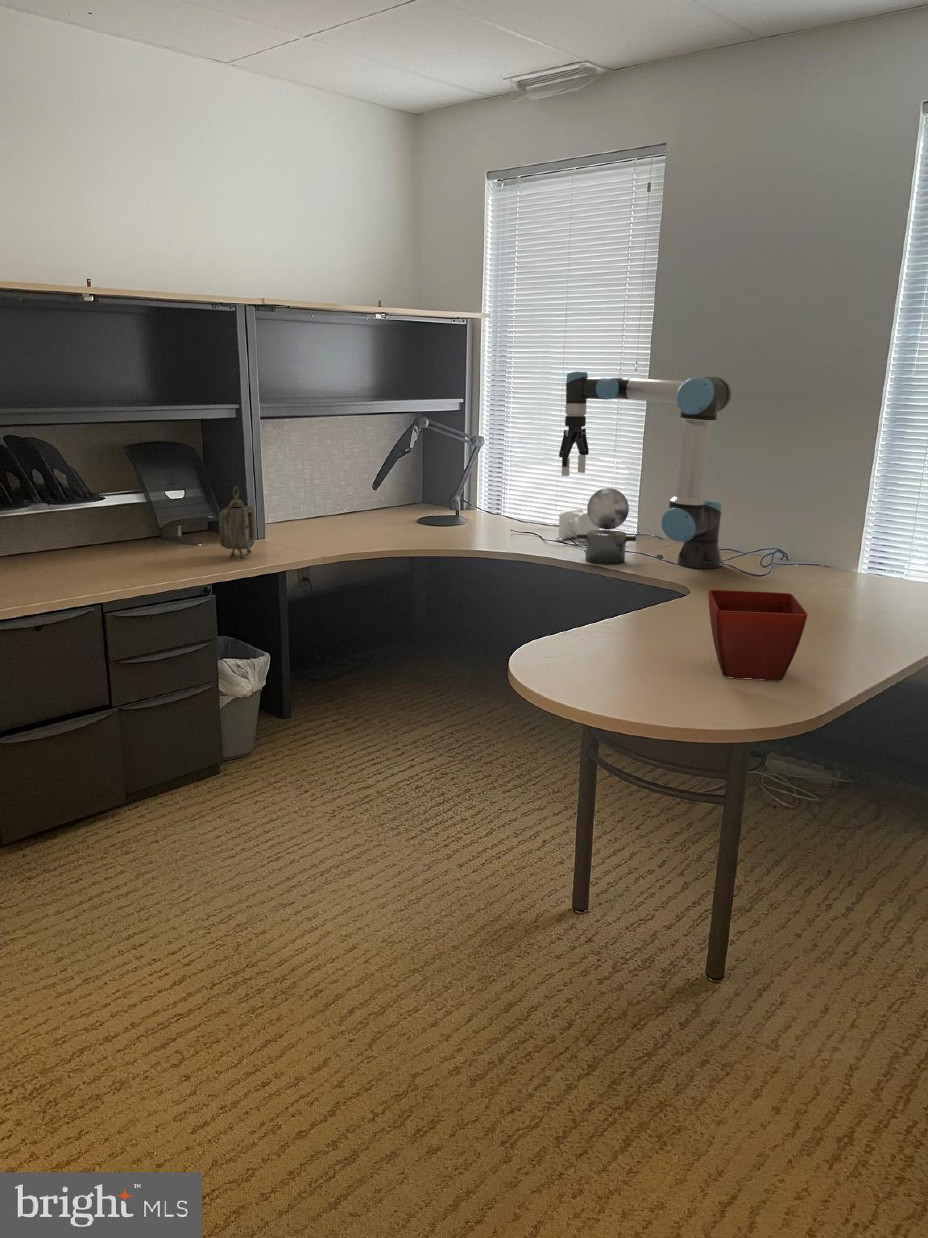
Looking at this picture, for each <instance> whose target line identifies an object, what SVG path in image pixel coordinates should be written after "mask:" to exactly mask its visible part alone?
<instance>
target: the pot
mask: <svg viewBox="0 0 928 1238" xmlns="http://www.w3.org/2000/svg"><path fill="white" fill-rule="evenodd" d="M576 539H577V540H578V539H586V541H585V543H586V544H585V557H584V558H585V561H586V562H588V563H590V564H595V565H600V566H601V565H602V566H603V565H604V566H614V565H615V566H616V565H621V564H622V565H623V564H624V563H625V561H626V558H625V557H626V545H627V544H626V543H627V542H636V541H637V536H636V535H635V536H634V535H633V536H632V535H627V533H626V532H624V531H619V530H614V529H610V530H605V529H599V530H592V531H588V532H587V534H577V537H576Z"/></svg>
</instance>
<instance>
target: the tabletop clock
mask: <svg viewBox="0 0 928 1238" xmlns="http://www.w3.org/2000/svg"><path fill="white" fill-rule="evenodd" d="M236 490H237V494H236ZM232 495H233V496H232V497H233V498H234V499H232V500H230V503H229V505H228V506H227V507H225V508H223V509H222V510H220V511H219V514H218V526H219V529H218V530H219V543H220V546H222V547H223V548H224V549H228V550H229V549H230V550H232V552H231V553H230V557H231V556H232V557H231V558H234V557H236V553H235V550H237V551H238V552H239V554H240V557H239V559H240V560H241V559H244V560H245V555H243V551H242V550H247V551H246V552H247V554H248V553H250V554H252V550H251V548H252V547H253V545H254V544H255V515H254V507H253V506H251V505H250V506H249V505H248V506H247V505H246V506H245V504H244V502H243V500H241V499H238V498H239V496H240V489H239V487H238V486H234V487H233V490H232ZM233 556H234V557H233Z"/></svg>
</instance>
